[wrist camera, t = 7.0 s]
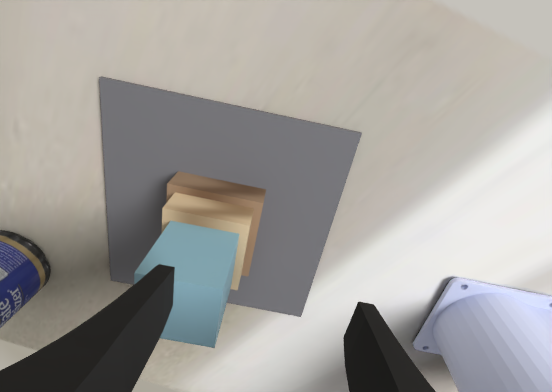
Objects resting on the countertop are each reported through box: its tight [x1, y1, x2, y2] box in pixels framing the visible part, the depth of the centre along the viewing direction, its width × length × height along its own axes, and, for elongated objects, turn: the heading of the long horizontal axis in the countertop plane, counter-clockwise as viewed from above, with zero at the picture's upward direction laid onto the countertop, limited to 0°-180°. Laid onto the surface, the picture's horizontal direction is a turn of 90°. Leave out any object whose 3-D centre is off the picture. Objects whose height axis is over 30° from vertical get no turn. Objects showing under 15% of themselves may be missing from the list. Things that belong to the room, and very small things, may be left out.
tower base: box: [166, 171, 266, 276], centre depth 21 cm, size 6×6×2 cm
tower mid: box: [162, 193, 254, 290], centre depth 20 cm, size 5×5×2 cm
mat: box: [99, 77, 362, 317], centre depth 22 cm, size 16×16×1 cm
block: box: [134, 221, 239, 348], centre depth 17 cm, size 4×4×4 cm
